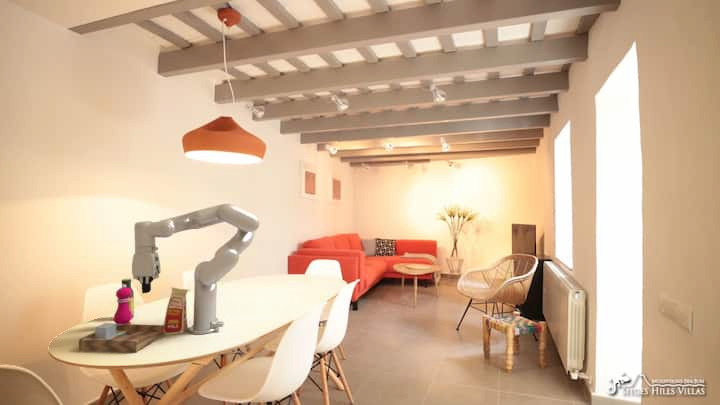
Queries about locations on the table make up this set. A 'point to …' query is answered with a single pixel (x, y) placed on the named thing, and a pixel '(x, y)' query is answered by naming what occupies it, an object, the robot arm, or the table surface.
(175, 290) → the paper food bag
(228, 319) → the table surface
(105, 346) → the brown wooden tray
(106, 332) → the block
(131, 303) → the sauce bottle
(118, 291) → the pepper mill
